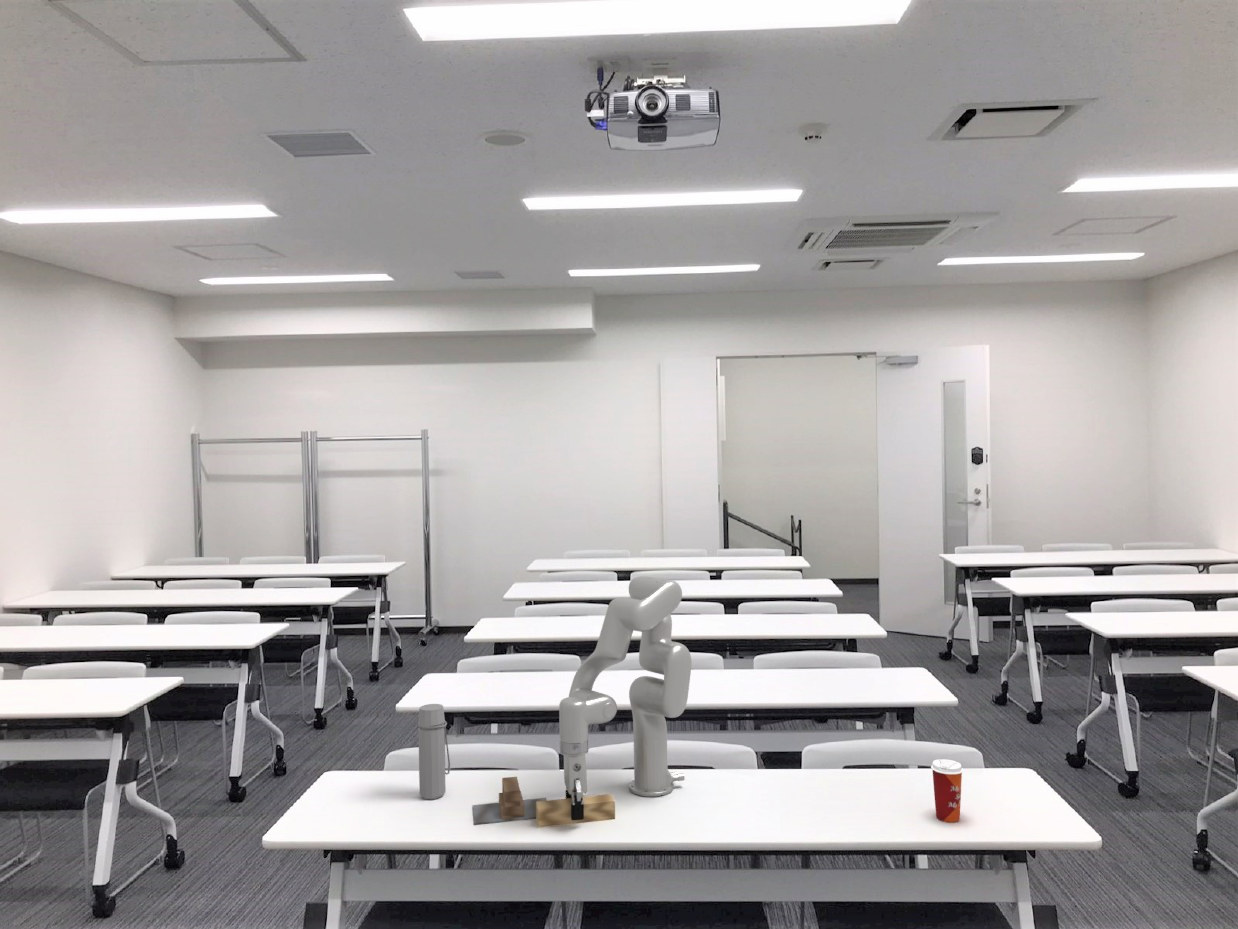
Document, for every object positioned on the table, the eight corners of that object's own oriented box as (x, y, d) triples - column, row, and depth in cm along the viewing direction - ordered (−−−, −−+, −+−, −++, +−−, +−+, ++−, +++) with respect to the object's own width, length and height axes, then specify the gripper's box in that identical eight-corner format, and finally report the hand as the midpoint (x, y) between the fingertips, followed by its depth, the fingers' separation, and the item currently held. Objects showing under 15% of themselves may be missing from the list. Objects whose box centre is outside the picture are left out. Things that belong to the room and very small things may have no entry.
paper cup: (961, 827, 210) (960, 771, 210) (929, 820, 214) (928, 765, 214) (966, 815, 217) (965, 761, 217) (935, 809, 221) (934, 756, 221)
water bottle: (427, 803, 232) (426, 712, 231) (414, 795, 237) (412, 706, 237) (457, 794, 238) (455, 705, 238) (443, 786, 244) (441, 700, 243)
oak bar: (611, 812, 224) (610, 793, 224) (615, 820, 219) (614, 801, 219) (536, 820, 220) (535, 801, 220) (538, 828, 215) (538, 809, 215)
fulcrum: (546, 799, 233) (545, 772, 233) (551, 816, 221) (550, 788, 221) (472, 806, 229) (472, 779, 229) (474, 825, 217) (473, 796, 217)
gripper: (593, 756, 212) (594, 824, 211) (582, 735, 228) (583, 798, 228) (564, 758, 210) (564, 827, 210) (555, 737, 227) (555, 800, 227)
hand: (574, 812), depth 219 cm, fingers open, 9 cm apart
